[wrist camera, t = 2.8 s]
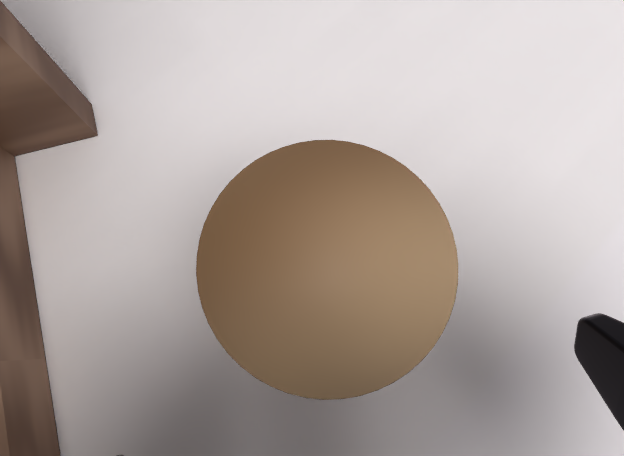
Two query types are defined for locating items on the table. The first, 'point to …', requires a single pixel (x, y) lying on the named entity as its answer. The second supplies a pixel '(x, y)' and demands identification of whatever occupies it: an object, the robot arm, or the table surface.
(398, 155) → the table surface
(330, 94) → the table surface
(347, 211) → the peg
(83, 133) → the socket stand
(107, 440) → the table surface
